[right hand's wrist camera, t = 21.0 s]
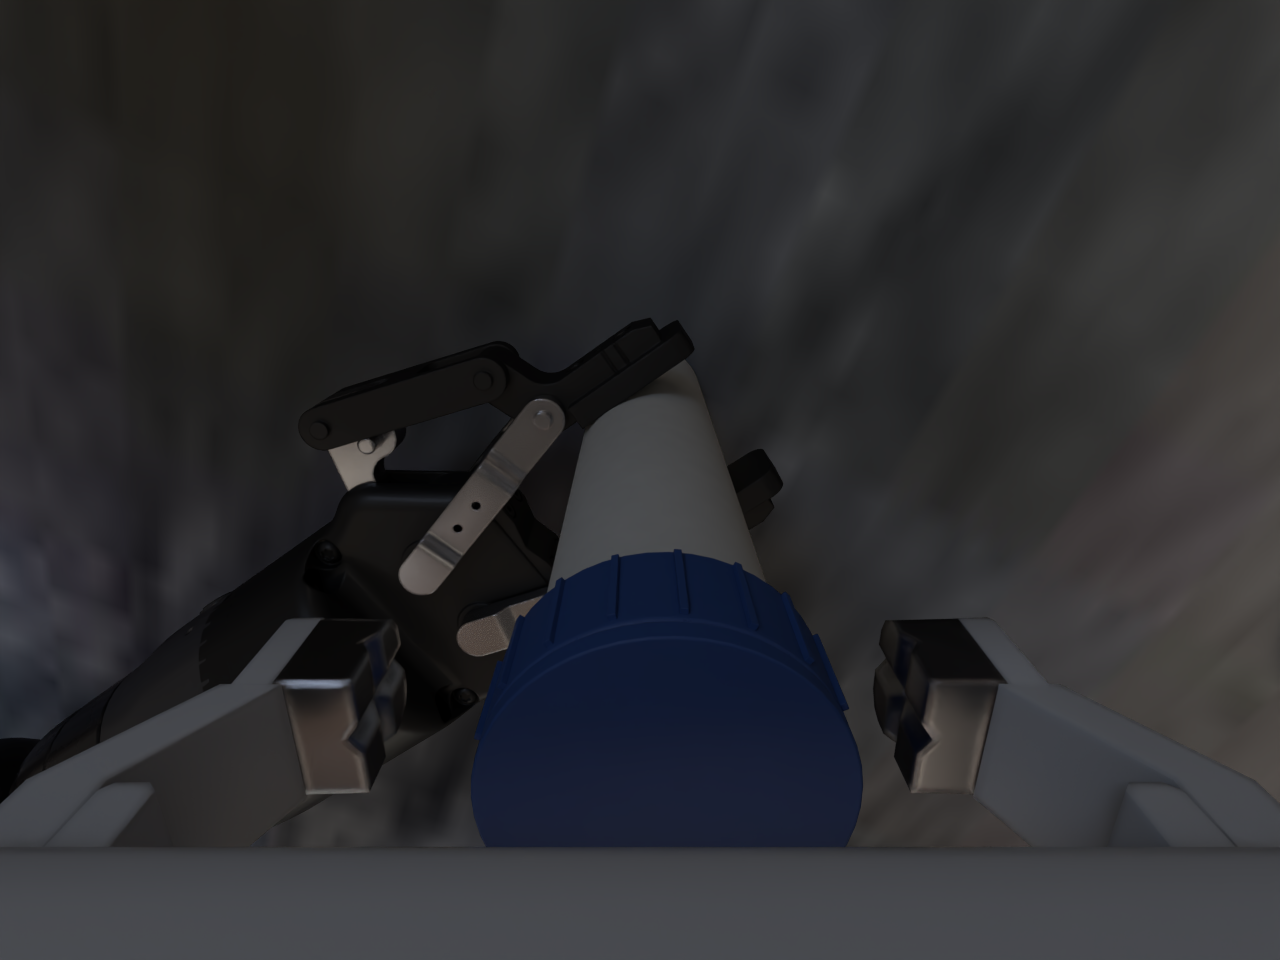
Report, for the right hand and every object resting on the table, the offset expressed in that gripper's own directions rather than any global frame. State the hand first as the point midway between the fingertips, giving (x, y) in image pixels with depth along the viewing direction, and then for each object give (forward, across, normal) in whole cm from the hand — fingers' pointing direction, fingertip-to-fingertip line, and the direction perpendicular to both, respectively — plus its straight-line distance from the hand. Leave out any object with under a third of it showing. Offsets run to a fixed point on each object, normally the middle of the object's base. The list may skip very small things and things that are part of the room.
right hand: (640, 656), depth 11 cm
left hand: (+11, -2, -1) cm, 11 cm away
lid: (-2, 0, 0) cm, 2 cm away
